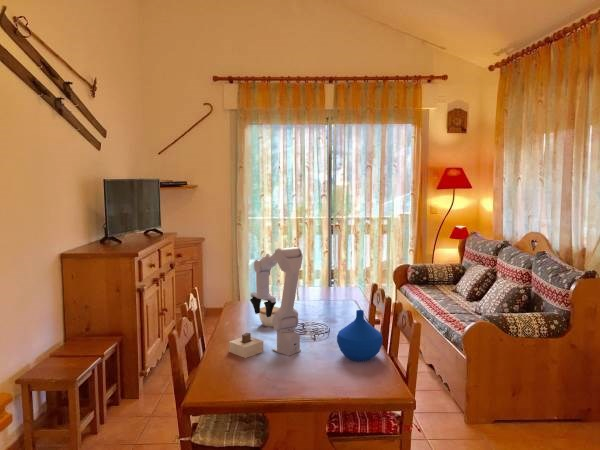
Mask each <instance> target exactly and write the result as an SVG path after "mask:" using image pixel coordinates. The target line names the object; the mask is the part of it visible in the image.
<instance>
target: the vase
mask: <svg viewBox="0 0 600 450" xmlns="http://www.w3.org/2000/svg"><path fill="white" fill-rule="evenodd" d="M364 312H365V311H364V310H363V309H356V313H355V314H356V315H355V319H354V320H352V322H350V323H349V324H348V325H346V326H344V327H343V328H341V329H340V330H338V333H337V335H336V342H337V345H338V347H339V351H341V353H342V354H343V356H345V357H346V358H347V360H348V359H349V360H350V361H354V362H361V363H363V362H368V361H371V360H372V359H374V358H375V357H377V355H378V354H379V352H380V351H381V349H382V346H383V339H384V338H383V335H382V333H381V332H380V331H379V330H378V329H376V328H375V327H374V326H372V325H371V324H370V323H369V322H368V321H367V320H366V319H365V316H364V315H365V314H364Z"/></svg>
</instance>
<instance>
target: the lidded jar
mask: <svg viewBox="0 0 600 450" xmlns="http://www.w3.org/2000/svg"><path fill="white" fill-rule="evenodd" d="M279 308H280V307H278V306H274V307H273V310H272V314H271V317H267V316H266V307H265V306H263V307H260V313H258V314H259V319H260V322H261V323H262V324H263V325H264V326H265V327H270V328H271V327H273V324H272V319H273V317H274V315H275V311H276V310H278V309H279Z"/></svg>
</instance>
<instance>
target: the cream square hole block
mask: <svg viewBox="0 0 600 450" xmlns="http://www.w3.org/2000/svg"><path fill="white" fill-rule="evenodd" d="M228 344H229V349H228V350H229V353H231V354H234V355H236V356H239V357H242V358H243V359H247V358H249V357H252V356H255V355H257V354H261V353H263V352H264V340H261V339H258V338H256V337H252V336H251V342H248V343H245V344H244V343H242V337H239V338H236V339H233V340H230V341H229V342H228Z"/></svg>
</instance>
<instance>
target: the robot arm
mask: <svg viewBox="0 0 600 450" xmlns="http://www.w3.org/2000/svg"><path fill="white" fill-rule="evenodd" d="M303 257H304V256H303V252H302V249H301V248H300V247H299V246H294V247H285V248H284V247H283V248H277V249H275V251H274V252H273V253H272V254H271V253H266V255H264V256H263V257H261V259H255V261H253V270H254V272H255V274H256V277H255V279H256V282H255V283H256V292H254V291H253V292H251V293H250V299H249V300H250V303H251V304H252V307H253V309H254V314H255V315H258V314H259V313H260V308H261V303H262V301H265V302H264V303H263V304H264V307H266V316H267V317H271V314H272V310H273V307H275V305H276V304H277V301H276V297H275V296H272V294H271V293H270V276H271V270H272V268H274V267H275V266H276V265H277V264H278V267H279V268H280V270H281V271H282V272H284V273H285V276H284V283H283V289H282V294H281V295H282V296H281V297H282V298H281V303H280V307H278V308H279V309H278V310H276V311H275V315H274V317H273V319H272V324H273V326H272V328H273V329H274V330H275V331H276V347H275V348H274V347H273V348H272V351H273V352H276V353H279V354H282V355H285V356H289V357H290V356H292V355H294V354H297V353H298V352H301V351H302V350H301V347H300V346H301V344H300V343H301V341H300V339H301V336H300V334H299V333H298V332H296V331H295V330H296V328H297V327H298V325H299V313H298V311H297V310H296V309H295V308H294V307H295V306H294V305H295V299H296V295H297V289H298V288H297V287H298V284H299V283H298V281H299V276H300V270H301V268H302V264H303Z"/></svg>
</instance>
